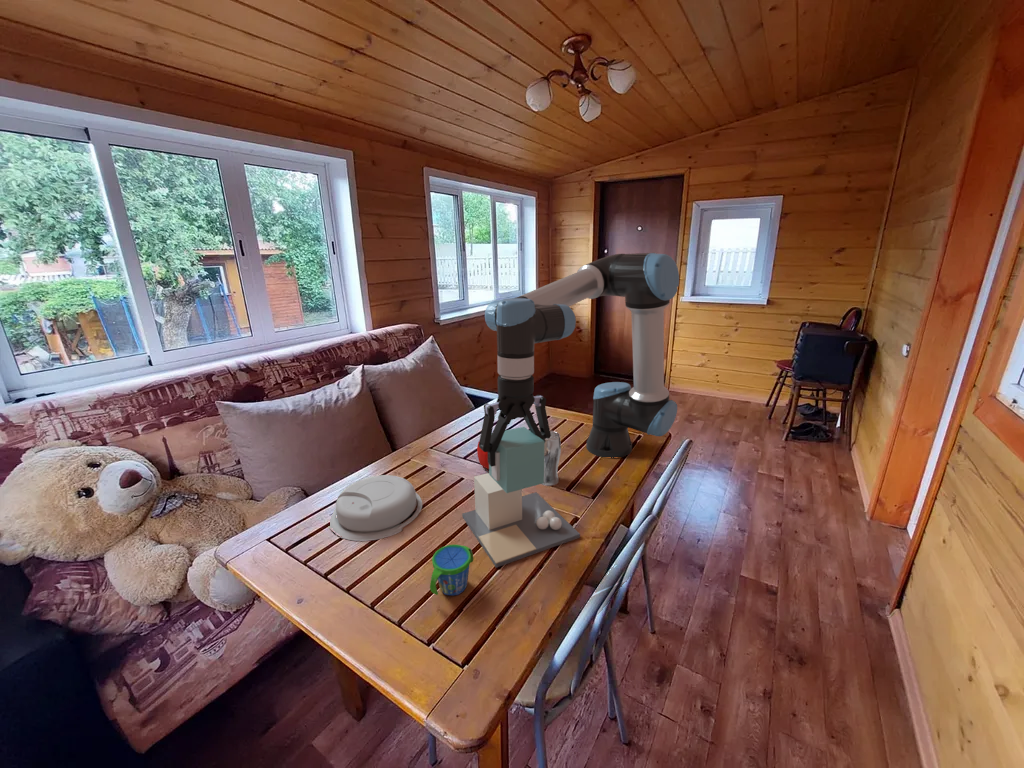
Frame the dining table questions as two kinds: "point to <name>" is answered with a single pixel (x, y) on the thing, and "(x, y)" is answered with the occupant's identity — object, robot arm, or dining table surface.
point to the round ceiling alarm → (375, 508)
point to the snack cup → (451, 569)
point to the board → (520, 533)
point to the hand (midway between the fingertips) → (515, 472)
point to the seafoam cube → (520, 460)
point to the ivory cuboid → (496, 502)
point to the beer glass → (551, 458)
